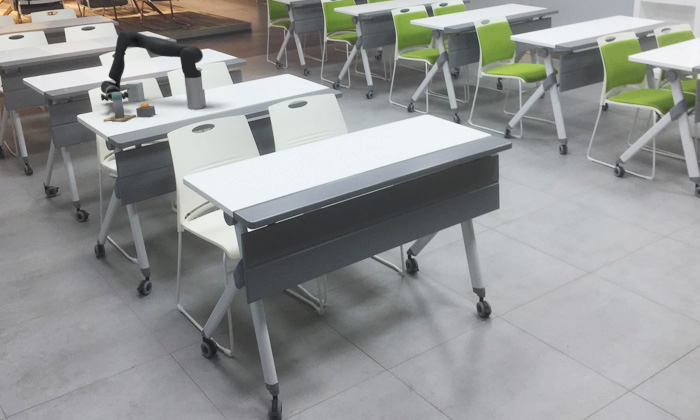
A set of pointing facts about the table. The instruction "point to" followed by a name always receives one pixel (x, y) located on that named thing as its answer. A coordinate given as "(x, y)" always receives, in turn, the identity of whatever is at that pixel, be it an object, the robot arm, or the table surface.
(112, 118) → the kraft pad
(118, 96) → the marker
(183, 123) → the table surface
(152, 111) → the button housing
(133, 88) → the small box
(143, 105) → the button
